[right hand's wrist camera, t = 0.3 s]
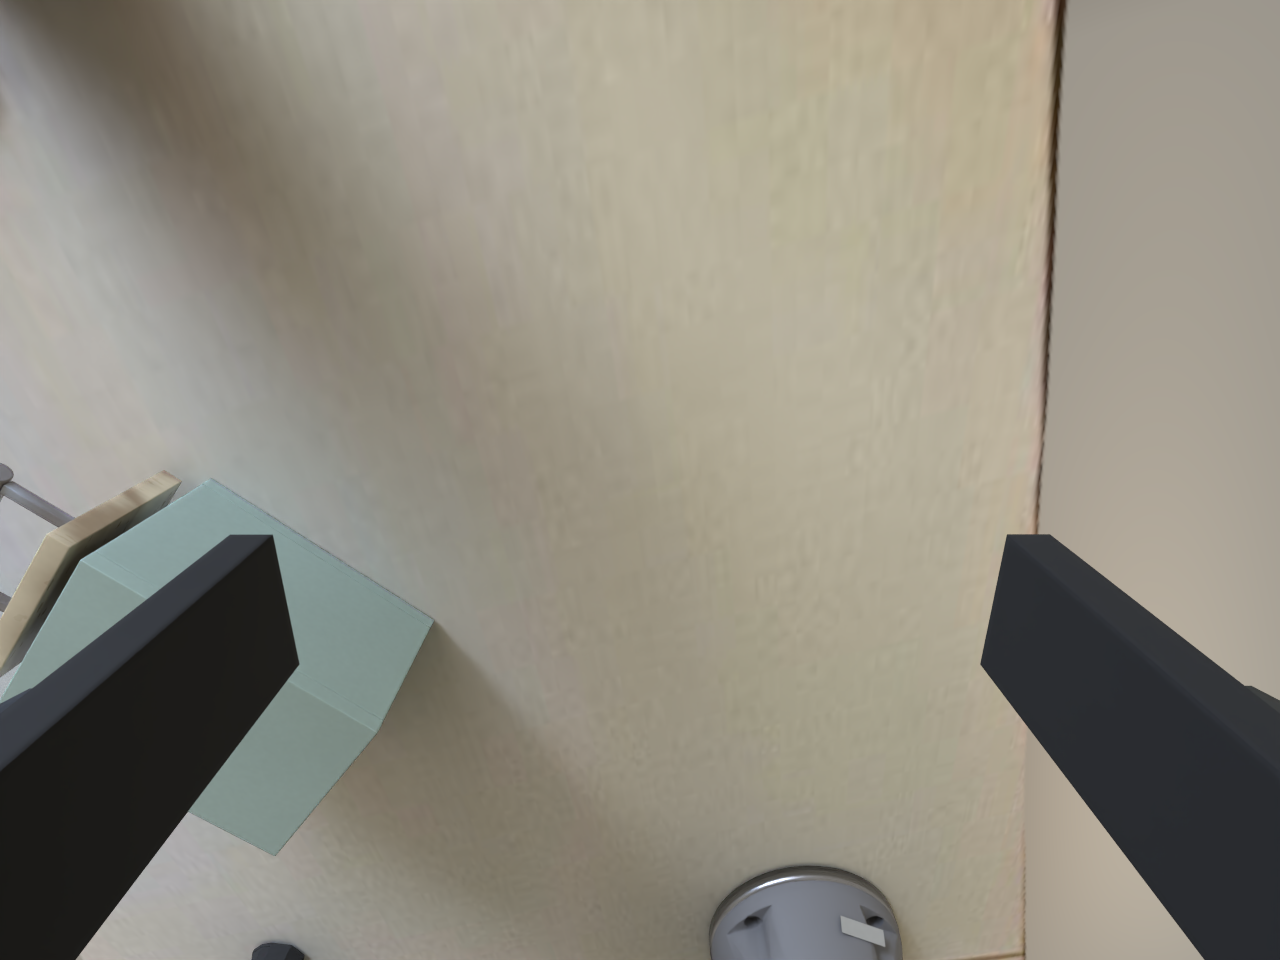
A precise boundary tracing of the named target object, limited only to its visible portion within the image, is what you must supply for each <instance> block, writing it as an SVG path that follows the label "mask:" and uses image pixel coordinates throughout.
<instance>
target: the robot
mask: <svg viewBox="0 0 1280 960" xmlns="http://www.w3.org/2000/svg"><path fill="white" fill-rule="evenodd" d="M252 960H304V955H303V954H302V953H301V952H300V951H298V950H297V949H296V948H294V947H293V946H292V945H284V944H276V943H268V944H262V945H261V946H259V947H258V948H256V949H255V950H254V951H253V955H252Z"/></svg>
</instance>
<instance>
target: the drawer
mask: <svg viewBox="0 0 1280 960" xmlns="http://www.w3.org/2000/svg"><path fill="white" fill-rule="evenodd" d="M12 478H13V471H12V470H11V469H10V468H9V467H8V466H6V465H4V464H2V463H0V501H1V499H2V497H3V496H6V497H8V498H9V499H11V500H13V501H14V502H16V503H18V504H19V505H21V506H23V507H25V508H26V509H28V510H30V511H31V512H33V513H35V514H36V515H38V516H40V517H42V518H43V519H45V520H47V521H48V522H50V523H52V524H53V525H55V526H57V527H59V528H57V529H55V530H53V531H51V532H49V533H48V534H46V536H45V538H44V540H43V542H42V544H41V545H40V547H39V549H38V551H37V553H36V555H35V556H34V558H33V560H32V562H31V564H30V566H29V567H28V569H27V571H26V573H25V575H24V576H23V578H22V580H21V582H20V584H19V586H18V587H17V589H16V591H15V593H14V595H13V597H12V598H11V597H9V596H7V595H5V594H3V593H2V592H0V611H2V612H4V613H3V615H2V617H1V619H0V677H1V676H3V675H4V674H6V673H7V672H8V671H10V670H11V669H12V668H14V667H15V666H17V665H18V664H19V663H21V662H22V661H23V659H24V657H25V655H26V654H27V652H28V650H29V649H30V647H31V645H32V643H33V642H34V640H35V638H36V636H37V635H38V633H39V631H40V629H41V628H42V626H43V624H44V622H45V621H46V619H47V617H48V615H49V614H50V612H51V610H52V608H53V607H54V605H55V603H56V601H57V600H58V598H59V596H60V595H61V593H62V591H63V589H64V588H65V586H66V584H67V582H68V581H69V579H70V577H71V575H72V574H73V572H74V570H75V568H76V567H77V565H78V563H79V561H80V560H81V559H83V558H84V557H86V556H88V555H89V554H91V553H92V552H95V551H96V550H98V549H99V548H101V547H102V546H104V545H106V544H107V543H109V542H110V541H112V540H114V539H115V538H117V537H118V536H120V535H122V534H123V533H125V532H126V531H128V530H130V529H131V528H133V527H134V526H136V525H138V524H139V523H141V522H142V521H144V520H146V519H147V518H149V517H151V516H152V515H154V514H155V513H157V512H159V511H160V510H162V509H163V508H165V507H167V505H168V504H169V502H170V500H171V499H172V497H173V495H174V494H175V492H176V490H177V489H178V487H179V485H180V484H181V482H182V481H180V480H179V479H177V478H176V477H174V476H172V475H171V474H169V473H168V472H166V471H164V470H163V471H162V472H160V473H158V474H156V475H154V476H152V477H151V478H149V479H147V480H145V481H143V482H141V483H140V484H138V485H136V486H134V487H132V488H130V489H128V490H127V491H125V492H123V493H121V494H119V495H117V496H116V497H114V498H112V499H110V500H108V501H106V502H105V503H103V504H101V505H99V506H97V507H95V508H94V509H92V510H90V511H88V512H86V513H84V514H82V515H81V516H79V517H77V518H74V517H72V516H71V515H69V514H67V513H66V512H64V511H62V510H61V509H59V508H57V507H55V506H54V505H52V504H50V503H49V502H47V501H45V500H44V499H42V498H40V497H39V496H37V495H35V494H34V493H32V492H30V491H29V490H27V489H25V488H23V487H22V486H20V485H18V484H17V483H15V482H13V481H11V480H12Z"/></svg>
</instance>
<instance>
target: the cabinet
mask: <svg viewBox="0 0 1280 960" xmlns="http://www.w3.org/2000/svg"><path fill="white" fill-rule="evenodd" d="M229 535H273V537H274V542H275V547H276V552H277V557H278V562H279V566H280V571H281V576H282V581H283V586H284V591H285V596H286V601H287V605H288V610H289V615H290V620H291V625H292V630H293V635H294V639H295V644H296V649H297V654H298V659H299V666H298V667H297V668H296V670H295V671H294V672H293V674H292V675H291V676H290V678H289V679H288V680H287V682H286V683H285V684H284V686H283V687H282V688H281V689H280V691H279V692H278V693H277V695H276V696H275V697H274V699H273V700H272V701H271V703H270V704H269V705H268V707H267V708H266V709H265V711H264V712H263V713H262V715H261V716H260V717H259V718H258V720H257V721H256V722H255V724H254V725H253V726H252V728H251V729H250V730H249V732H248V733H247V734H246V736H245V737H244V738H243V740H242V741H241V742H240V744H239V745H238V746H237V747H236V749H235V750H234V751H233V753H232V754H231V755H230V757H229V758H228V759H227V761H226V762H225V763H224V765H223V766H222V767H221V769H220V770H219V771H218V773H217V774H216V775H215V776H214V778H213V779H212V780H211V782H210V783H209V784H208V786H207V787H206V788H205V790H204V791H203V792H202V794H201V795H200V796H199V798H198V799H197V800H196V802H195V803H194V804H193V805H192V807H191V808H190V809H189V811H188V812H190V813H192V814H194V815H196V816H198V817H200V818H202V819H203V820H205V821H207V822H209V823H211V824H213V825H215V826H217V827H219V828H221V829H223V830H225V831H227V832H229V833H231V834H233V835H235V836H236V837H238V838H240V839H242V840H244V841H246V842H248V843H250V844H252V845H254V846H256V847H258V848H260V849H262V850H264V851H266V852H268V853H269V854H271V855H273V856H276V855H277V853H278V852H279V851H280V850H281V849H282V847H283V846H284V845H285V844H286V843H287V841H288V840H289V839H290V838H291V837H292V835H293V834H294V833H295V832H296V831H297V829H298V828H299V827H300V826H301V825H302V823H303V822H304V821H305V820H306V819H307V817H308V816H309V815H310V814H311V813H312V811H313V810H314V809H315V808H316V806H317V805H318V804H319V803H320V802H321V800H322V799H323V798H324V797H325V796H326V794H327V793H328V792H329V791H330V790H331V788H332V787H333V786H334V785H335V784H336V782H337V781H338V780H339V779H340V778H341V776H342V775H343V774H344V773H345V772H346V770H347V769H348V768H349V767H350V766H351V764H352V763H353V762H354V761H355V759H356V758H357V757H358V756H359V755H360V753H361V752H362V751H363V750H364V749H365V747H366V746H367V745H368V744H369V743H370V741H371V740H372V739H373V738H374V737H375V735H376V734H377V733H378V731H379V729H380V727H381V725H382V723H383V721H384V719H385V717H386V715H387V713H388V711H389V709H390V707H391V705H392V703H393V701H394V699H395V697H396V695H397V693H398V691H399V689H400V687H401V685H402V683H403V681H404V679H405V677H406V675H407V673H408V671H409V669H410V667H411V665H412V663H413V662H414V660H415V658H416V656H417V654H418V652H419V650H420V648H421V646H422V644H423V642H424V640H425V638H426V636H427V634H428V632H429V630H430V628H431V626H432V624H433V622H434V620H433V619H432V618H430V617H428V616H427V615H425V614H424V613H422V612H421V611H419V610H417V609H416V608H414V607H413V606H411V605H410V604H408V603H406V602H405V601H403V600H402V599H400V598H399V597H397V596H395V595H394V594H392V593H391V592H389V591H388V590H386V589H384V588H383V587H381V586H380V585H378V584H377V583H375V582H373V581H372V580H370V579H369V578H367V577H366V576H364V575H362V574H361V573H359V572H358V571H356V570H355V569H353V568H351V567H350V566H348V565H347V564H345V563H344V562H342V561H340V560H339V559H337V558H336V557H334V556H333V555H331V554H329V553H328V552H326V551H325V550H323V549H322V548H320V547H318V546H317V545H315V544H314V543H312V542H311V541H309V540H307V539H306V538H304V537H303V536H301V535H300V534H298V533H296V532H295V531H293V530H292V529H290V528H289V527H287V526H285V525H284V524H282V523H281V522H279V521H278V520H276V519H274V518H273V517H271V516H270V515H268V514H267V513H265V512H263V511H262V510H260V509H259V508H257V507H256V506H254V505H252V504H251V503H249V502H248V501H246V500H245V499H243V498H241V497H240V496H238V495H237V494H235V493H234V492H232V491H230V490H229V489H227V488H226V487H224V486H223V485H221V484H219V483H218V482H216V481H215V480H213V479H209V480H208V481H206V482H205V483H203V484H202V485H200V486H199V487H197V488H195V489H194V490H192V491H191V492H189V493H187V494H186V495H184V496H183V497H181V498H179V499H178V500H176V501H175V502H173V503H171V504H170V505H168V506H167V507H165V508H163V509H162V510H160V511H159V512H157V513H155V514H154V515H152V516H151V517H149V518H147V519H146V520H144V521H142V522H141V523H139V524H138V525H136V526H134V527H133V528H131V529H130V530H128V531H126V532H125V533H123V534H122V535H120V536H118V537H117V538H115V539H114V540H112V541H110V542H109V543H107V544H106V545H104V546H102V547H101V548H99V549H98V550H96V551H95V552H92V553H91V554H89V555H88V556H86V557H84V558H83V559H81V560H80V561H79V563H78V565H77V567H76V568H75V570H74V572H73V574H72V575H71V577H70V579H69V581H68V582H67V584H66V586H65V588H64V589H63V591H62V593H61V595H60V596H59V598H58V600H57V601H56V603H55V605H54V607H53V608H52V610H51V612H50V614H49V615H48V617H47V619H46V621H45V622H44V624H43V626H42V628H41V629H40V631H39V633H38V635H37V636H36V638H35V640H34V642H33V643H32V645H31V647H30V649H29V650H28V652H27V654H26V655H25V657H24V659H23V661H22V662H21V664H20V666H19V668H18V669H17V671H16V673H15V675H14V676H13V678H12V680H11V682H10V683H9V685H8V687H7V689H6V690H5V692H4V694H3V696H2V697H1V699H0V704H1V703H3V702H4V701H6V700H8V699H10V698H12V697H14V696H16V695H18V694H20V693H22V692H24V691H26V690H27V689H29V688H33V687H35V686H36V685H37V684H39V683H40V682H41V681H42V680H44V679H45V678H46V677H48V676H49V675H50V674H51V673H53V672H54V671H55V670H57V669H58V668H59V667H60V666H62V665H63V664H64V663H66V662H67V661H68V660H69V659H71V658H72V657H73V656H75V655H76V654H77V653H78V652H80V651H81V650H82V649H84V648H85V647H86V646H87V645H89V644H90V643H91V642H93V641H94V640H95V639H96V638H98V637H99V636H100V635H102V634H103V633H104V632H105V631H107V630H108V629H109V628H111V627H112V626H113V625H114V624H116V623H117V622H118V621H120V620H121V619H122V618H123V617H125V616H126V615H127V614H129V613H130V612H131V611H132V610H134V609H135V608H136V607H138V606H139V605H140V604H141V603H143V602H144V601H145V600H147V599H148V598H149V597H150V596H152V595H153V594H154V593H156V592H157V591H158V590H159V589H161V588H162V587H163V586H165V585H166V584H167V583H168V582H170V581H171V580H172V579H174V578H175V577H176V576H177V575H179V574H180V573H181V572H183V571H184V570H185V569H186V568H188V567H189V566H190V565H192V564H193V563H194V562H195V561H197V560H198V559H199V558H201V557H202V556H203V555H204V554H206V553H207V552H208V551H210V550H211V549H212V548H213V547H215V546H216V545H217V544H219V543H220V542H221V541H222V540H224V539H225V538H226V537H228V536H229Z"/></svg>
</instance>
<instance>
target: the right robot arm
mask: <svg viewBox="0 0 1280 960" xmlns="http://www.w3.org/2000/svg"><path fill="white" fill-rule="evenodd" d="M298 666H299V659H298V654H297V649H296V644H295V639H294V635H293V630H292V625H291V620H290V615H289V610H288V605H287V601H286V596H285V591H284V586H283V581H282V576H281V571H280V566H279V562H278V557H277V552H276V547H275V542H274V537H273V535H229V536H228V537H226V538H225V539H224V540H222V541H221V542H220V543H219V544H217V545H216V546H215V547H213V548H212V549H211V550H210V551H208V552H207V553H206V554H204V555H203V556H202V557H201V558H199V559H198V560H197V561H195V562H194V563H193V564H192V565H190V566H189V567H188V568H186V569H185V570H184V571H183V572H181V573H180V574H179V575H177V576H176V577H175V578H174V579H172V580H171V581H170V582H168V583H167V584H166V585H165V586H163V587H162V588H161V589H159V590H158V591H157V592H156V593H154V594H153V595H152V596H150V597H149V598H148V599H147V600H145V601H144V602H143V603H141V604H140V605H139V606H138V607H136V608H135V609H134V610H132V611H131V612H130V613H129V614H127V615H126V616H125V617H123V618H122V619H121V620H120V621H118V622H117V623H116V624H114V625H113V626H112V627H111V628H109V629H108V630H107V631H105V632H104V633H103V634H102V635H100V636H99V637H98V638H96V639H95V640H94V641H93V642H91V643H90V644H89V645H87V646H86V647H85V648H84V649H82V650H81V651H80V652H78V653H77V654H76V655H75V656H73V657H72V658H71V659H69V660H68V661H67V662H66V663H64V664H63V665H62V666H60V667H59V668H58V669H57V670H55V671H54V672H53V673H51V674H50V675H49V676H48V677H46V678H45V679H44V680H42V681H41V682H40V683H39V684H37V685H36V686H35V687H33V688H29V689H27V690H26V691H24V692H22V693H20V694H18V695H16V696H14V697H12V698H10V699H8V700H6V701H4V702H3V703H1V704H0V960H76V958H77V957H78V956H79V954H80V953H81V952H82V950H83V949H84V948H85V946H86V945H87V944H88V943H89V941H90V940H91V939H92V937H93V936H94V935H95V933H96V932H97V931H98V929H99V928H100V927H101V925H102V924H103V923H104V921H105V920H106V919H107V917H108V916H109V915H110V914H111V912H112V911H113V910H114V908H115V907H116V906H117V904H118V903H119V902H120V900H121V899H122V898H123V896H124V895H125V894H126V892H127V891H128V890H129V889H130V887H131V886H132V885H133V883H134V882H135V881H136V879H137V878H138V877H139V875H140V874H141V873H142V871H143V870H144V869H145V867H146V866H147V865H148V863H149V862H150V861H151V860H152V858H153V857H154V856H155V854H156V853H157V852H158V850H159V849H160V848H161V846H162V845H163V844H164V842H165V841H166V840H167V838H168V837H169V836H170V834H171V833H172V832H173V831H174V829H175V828H176V827H177V825H178V824H179V823H180V821H181V820H182V819H183V817H184V816H185V815H186V813H187V812H188V811H189V809H190V808H191V807H192V805H193V804H194V803H195V802H196V800H197V799H198V798H199V796H200V795H201V794H202V792H203V791H204V790H205V788H206V787H207V786H208V784H209V783H210V782H211V780H212V779H213V778H214V776H215V775H216V774H217V773H218V771H219V770H220V769H221V767H222V766H223V765H224V763H225V762H226V761H227V759H228V758H229V757H230V755H231V754H232V753H233V751H234V750H235V749H236V747H237V746H238V745H239V744H240V742H241V741H242V740H243V738H244V737H245V736H246V734H247V733H248V732H249V730H250V729H251V728H252V726H253V725H254V724H255V722H256V721H257V720H258V718H259V717H260V716H261V715H262V713H263V712H264V711H265V709H266V708H267V707H268V705H269V704H270V703H271V701H272V700H273V699H274V697H275V696H276V695H277V693H278V692H279V691H280V689H281V688H282V687H283V686H284V684H285V683H286V682H287V680H288V679H289V678H290V676H291V675H292V674H293V672H294V671H295V670H296V668H297V667H298ZM981 666H982V667H983V668H984V670H985V671H986V672H987V674H988V675H989V676H990V678H991V679H992V680H993V682H994V683H995V684H996V686H997V687H998V688H999V689H1000V691H1001V692H1002V693H1003V695H1004V696H1005V697H1006V699H1007V700H1008V701H1009V703H1010V704H1011V705H1012V707H1013V708H1014V709H1015V711H1016V712H1017V713H1018V715H1019V716H1020V717H1021V718H1022V720H1023V721H1024V722H1025V724H1026V725H1027V726H1028V728H1029V729H1030V730H1031V732H1032V733H1033V734H1034V736H1035V737H1036V738H1037V739H1038V741H1039V742H1040V744H1041V745H1042V746H1043V747H1044V749H1045V750H1046V751H1047V753H1048V754H1049V755H1050V757H1051V758H1052V759H1053V761H1054V762H1055V763H1056V765H1057V766H1058V767H1059V769H1060V770H1061V771H1062V772H1063V774H1064V775H1065V776H1066V778H1067V779H1068V780H1069V782H1070V783H1071V784H1072V786H1073V787H1074V788H1075V790H1076V791H1077V792H1078V794H1079V795H1080V796H1081V798H1082V799H1083V800H1084V801H1085V803H1086V804H1087V805H1088V807H1089V808H1090V809H1091V811H1092V812H1093V813H1094V815H1095V816H1096V817H1097V819H1098V820H1099V821H1100V823H1101V824H1102V825H1103V827H1104V828H1105V829H1106V830H1107V832H1108V833H1109V834H1110V836H1111V837H1112V838H1113V840H1114V841H1115V842H1116V844H1117V845H1118V846H1119V848H1120V849H1121V850H1122V852H1123V853H1124V854H1125V855H1126V857H1127V858H1128V859H1129V861H1130V862H1131V863H1132V865H1133V866H1134V867H1135V869H1136V870H1137V871H1138V873H1139V874H1140V875H1141V877H1142V878H1143V879H1144V881H1145V882H1146V883H1147V885H1148V886H1149V887H1150V888H1151V890H1152V891H1153V892H1154V894H1155V895H1156V896H1157V898H1158V899H1159V900H1160V902H1161V903H1162V904H1163V906H1164V907H1165V908H1166V910H1167V911H1168V912H1169V914H1170V915H1171V916H1172V917H1173V919H1174V920H1175V921H1176V923H1177V924H1178V925H1179V927H1180V928H1181V929H1182V931H1183V932H1184V933H1185V935H1186V936H1187V937H1188V939H1189V940H1190V941H1191V943H1192V944H1193V945H1194V946H1195V948H1196V949H1197V950H1198V952H1199V953H1200V954H1201V956H1202V957H1203V958H1204V960H1280V700H1278V699H1276V698H1274V697H1272V696H1270V695H1268V694H1266V693H1264V692H1262V691H1260V690H1258V689H1256V688H1254V687H1252V686H1244V685H1243V684H1241V683H1240V682H1239V681H1238V680H1236V679H1235V678H1234V677H1232V676H1231V675H1230V674H1229V673H1227V672H1226V671H1225V670H1223V669H1222V668H1221V667H1220V666H1218V665H1217V664H1216V663H1214V662H1213V661H1212V660H1211V659H1209V658H1208V657H1207V656H1205V655H1204V654H1203V653H1202V652H1200V651H1199V650H1198V649H1196V648H1195V647H1194V646H1193V645H1191V644H1190V643H1189V642H1187V641H1186V640H1185V639H1184V638H1182V637H1181V636H1180V635H1178V634H1177V633H1176V632H1175V631H1173V630H1172V629H1171V628H1169V627H1168V626H1167V625H1166V624H1164V623H1163V622H1162V621H1160V620H1159V619H1158V618H1156V617H1155V616H1154V615H1153V614H1151V613H1150V612H1149V611H1148V610H1146V609H1145V608H1144V607H1142V606H1141V605H1140V604H1139V603H1137V602H1136V601H1135V600H1133V599H1132V598H1131V597H1130V596H1128V595H1127V594H1126V593H1124V592H1123V591H1122V590H1121V589H1119V588H1118V587H1117V586H1115V585H1114V584H1113V583H1112V582H1110V581H1109V580H1108V579H1106V578H1105V577H1104V576H1103V575H1101V574H1100V573H1099V572H1097V571H1096V570H1095V569H1094V568H1092V567H1091V566H1090V565H1088V564H1087V563H1086V562H1085V561H1083V560H1082V559H1081V558H1079V557H1078V556H1077V555H1076V554H1074V553H1073V552H1072V551H1070V550H1069V549H1068V548H1067V547H1065V546H1064V545H1063V544H1061V543H1060V542H1059V541H1058V540H1056V539H1055V538H1054V537H1052V536H1051V535H1007V537H1006V542H1005V547H1004V552H1003V557H1002V562H1001V566H1000V571H999V576H998V581H997V586H996V591H995V596H994V601H993V605H992V610H991V615H990V620H989V625H988V630H987V635H986V639H985V644H984V649H983V654H982V659H981ZM709 942H710V953H711V960H902V944H901V938H900V934H899V929H898V926H897V922H896V920H895V917H894V914H893V911H892V909H891V906H890V904H889V902H888V901H887V899H886V898H885V896H884V895H883V894H882V893H881V892H880V891H879V890H878V889H877V888H876V887H875V886H873V885H872V884H871V883H869V882H868V881H866V880H864V879H863V878H861V877H859V876H857V875H855V874H852V873H849V872H846V871H843V870H839V869H835V868H829V867H821V866H798V867H790V868H784V869H779V870H775V871H772V872H769V873H766V874H763V875H760V876H758V877H756V878H753V879H752V880H750V881H748V882H746V883H744V884H743V885H741V886H740V887H738V888H737V889H736V890H734V891H733V892H732V893H731V894H730V895H729V896H727V897H726V899H725V900H724V901H723V902H722V903H721V905H720V906H719V907H718V909H717V911H716V912H715V914H714V916H713V919H712V921H711V925H710V931H709Z"/></svg>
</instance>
